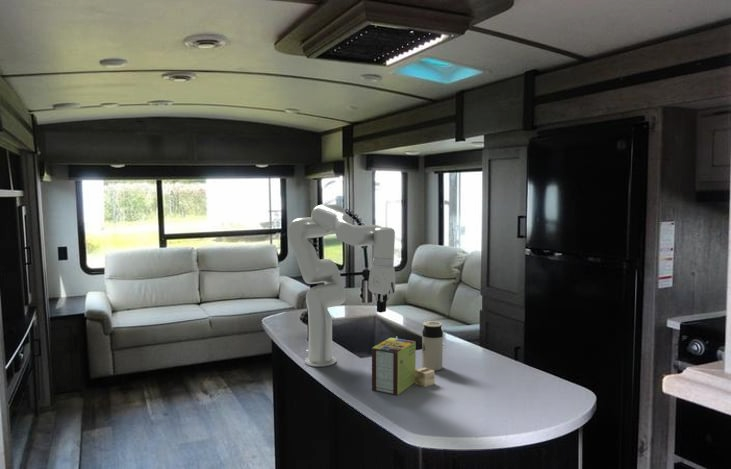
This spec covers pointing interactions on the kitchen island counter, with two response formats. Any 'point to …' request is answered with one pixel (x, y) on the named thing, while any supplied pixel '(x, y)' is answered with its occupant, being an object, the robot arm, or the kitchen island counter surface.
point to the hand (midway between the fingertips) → (381, 311)
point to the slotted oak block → (424, 377)
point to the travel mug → (432, 345)
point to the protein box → (393, 365)
